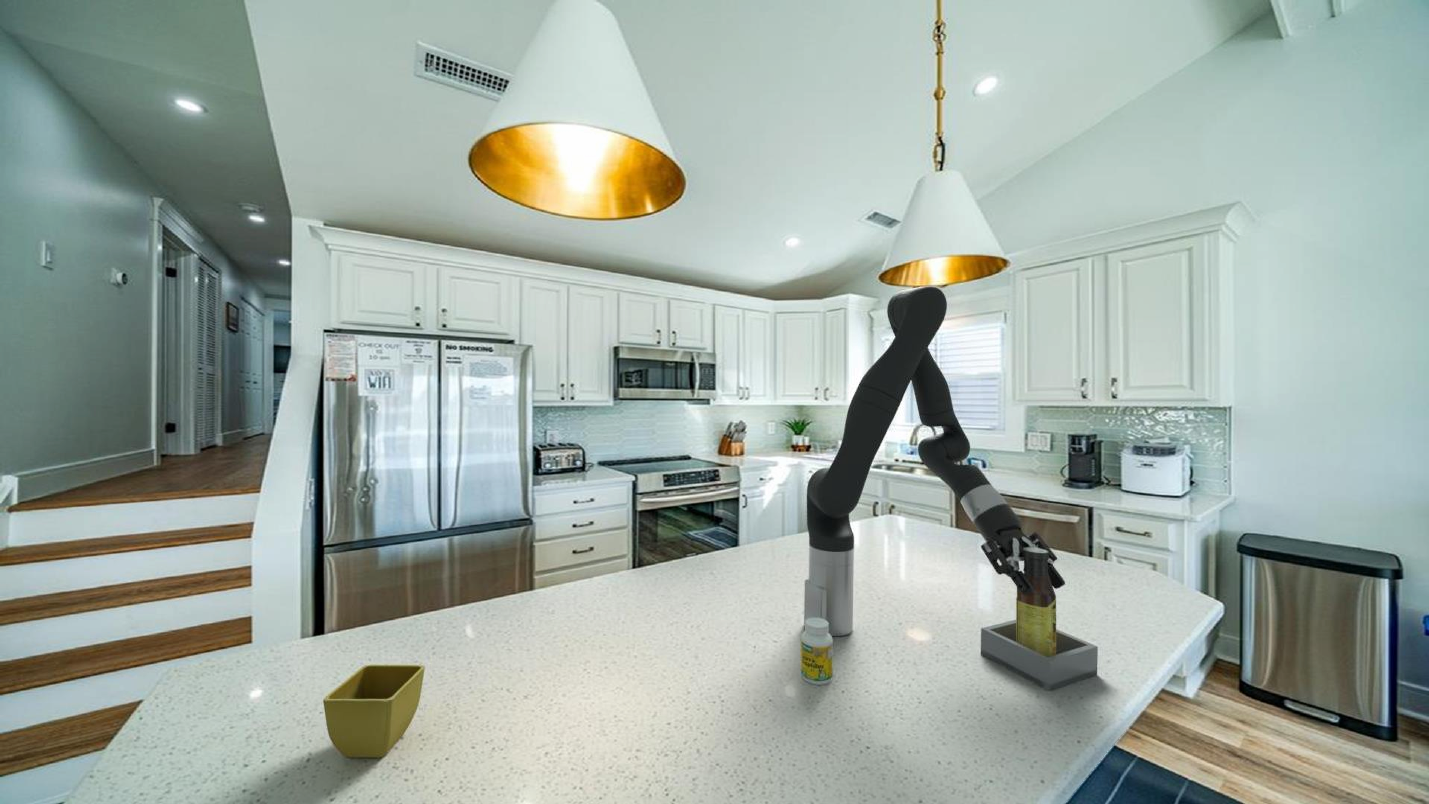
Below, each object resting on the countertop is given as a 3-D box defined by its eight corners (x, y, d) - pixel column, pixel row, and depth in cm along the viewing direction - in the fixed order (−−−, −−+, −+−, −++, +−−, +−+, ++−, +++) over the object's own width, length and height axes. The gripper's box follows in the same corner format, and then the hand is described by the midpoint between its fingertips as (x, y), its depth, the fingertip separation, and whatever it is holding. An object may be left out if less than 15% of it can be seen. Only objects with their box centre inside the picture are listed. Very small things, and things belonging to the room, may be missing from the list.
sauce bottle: (1062, 669, 90) (1064, 557, 90) (1023, 665, 91) (1025, 554, 91) (1046, 651, 96) (1048, 546, 96) (1010, 647, 97) (1011, 544, 97)
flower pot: (426, 725, 74) (426, 663, 74) (390, 768, 66) (390, 699, 66) (364, 725, 74) (365, 664, 74) (320, 769, 65) (320, 700, 65)
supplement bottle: (836, 674, 89) (836, 619, 89) (827, 689, 85) (827, 632, 85) (806, 666, 92) (807, 613, 92) (796, 680, 87) (797, 624, 87)
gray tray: (1049, 691, 85) (1049, 661, 85) (980, 654, 97) (981, 628, 97) (1097, 674, 90) (1097, 646, 90) (1026, 641, 102) (1026, 617, 102)
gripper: (976, 505, 97) (1034, 586, 87) (1026, 499, 103) (1086, 575, 92) (952, 526, 102) (1004, 605, 92) (1001, 520, 108) (1055, 593, 97)
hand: (1045, 589), depth 92 cm, fingers open, 8 cm apart
